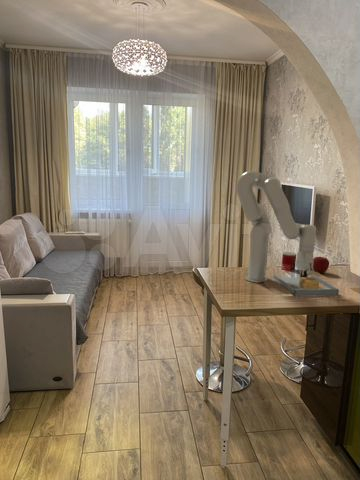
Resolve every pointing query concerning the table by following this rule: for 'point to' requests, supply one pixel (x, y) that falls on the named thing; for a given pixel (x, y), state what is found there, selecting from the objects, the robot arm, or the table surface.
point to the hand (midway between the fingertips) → (303, 282)
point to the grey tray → (307, 292)
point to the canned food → (288, 261)
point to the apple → (320, 264)
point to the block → (308, 283)
